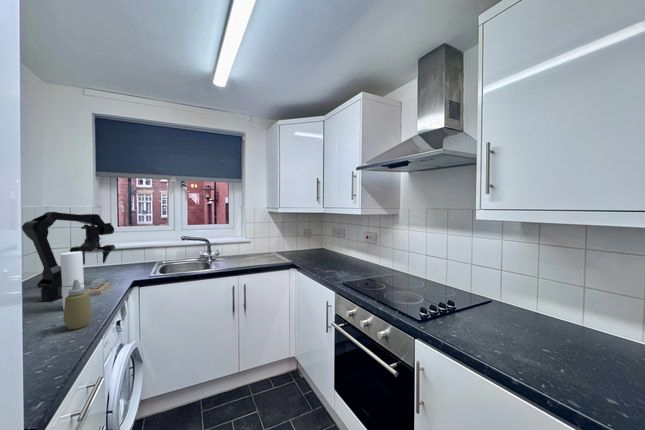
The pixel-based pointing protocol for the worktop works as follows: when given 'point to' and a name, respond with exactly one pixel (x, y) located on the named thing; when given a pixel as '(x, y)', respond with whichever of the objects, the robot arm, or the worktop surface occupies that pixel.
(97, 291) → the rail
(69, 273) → the cylindrical container
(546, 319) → the worktop surface
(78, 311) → the squeeze bottle
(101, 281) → the clip
